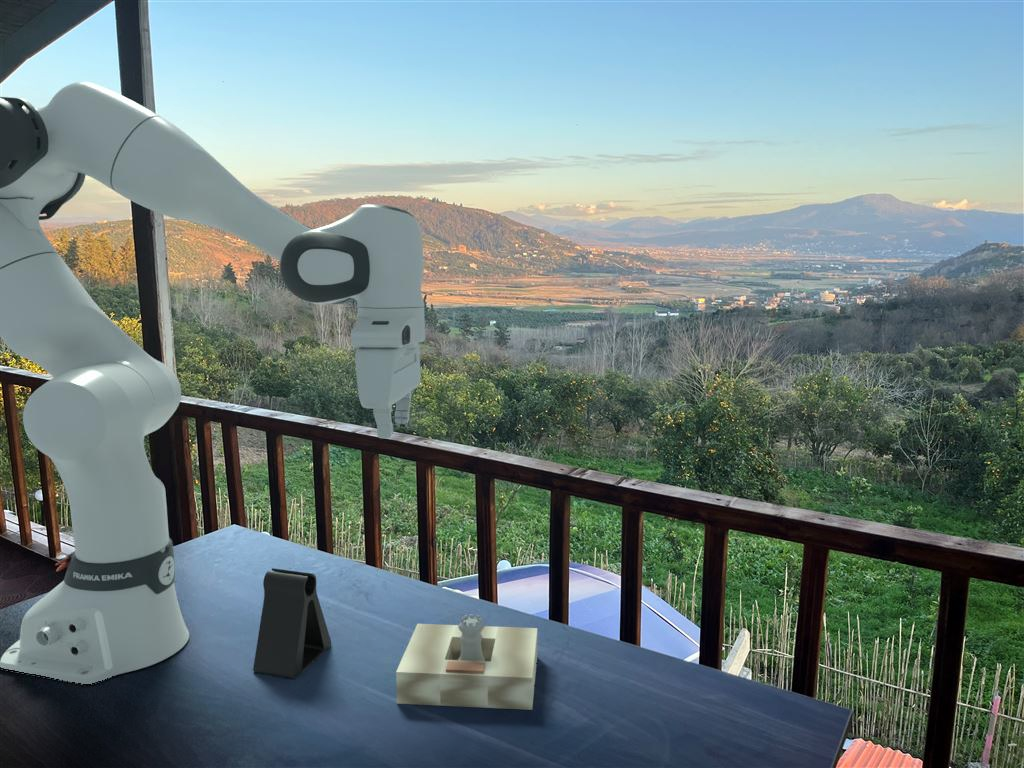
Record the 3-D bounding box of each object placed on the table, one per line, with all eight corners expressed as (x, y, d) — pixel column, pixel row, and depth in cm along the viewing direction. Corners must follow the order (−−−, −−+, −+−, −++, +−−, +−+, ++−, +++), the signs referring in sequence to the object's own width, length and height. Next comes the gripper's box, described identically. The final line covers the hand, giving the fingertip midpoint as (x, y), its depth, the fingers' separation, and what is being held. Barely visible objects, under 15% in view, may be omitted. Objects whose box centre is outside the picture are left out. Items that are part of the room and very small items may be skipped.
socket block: (396, 703, 86) (396, 669, 85) (418, 651, 98) (417, 621, 97) (532, 709, 85) (532, 675, 84) (537, 656, 97) (537, 626, 96)
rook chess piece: (484, 690, 89) (484, 629, 87) (449, 686, 90) (448, 625, 88) (493, 671, 93) (493, 612, 92) (459, 667, 94) (458, 609, 93)
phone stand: (293, 639, 101) (289, 556, 100) (331, 645, 100) (328, 562, 98) (252, 672, 93) (247, 583, 91) (293, 680, 91) (289, 589, 89)
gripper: (387, 323, 108) (390, 415, 110) (345, 334, 88) (349, 446, 90) (429, 323, 108) (431, 415, 110) (397, 334, 88) (399, 447, 90)
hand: (394, 429), depth 100 cm, fingers open, 8 cm apart
